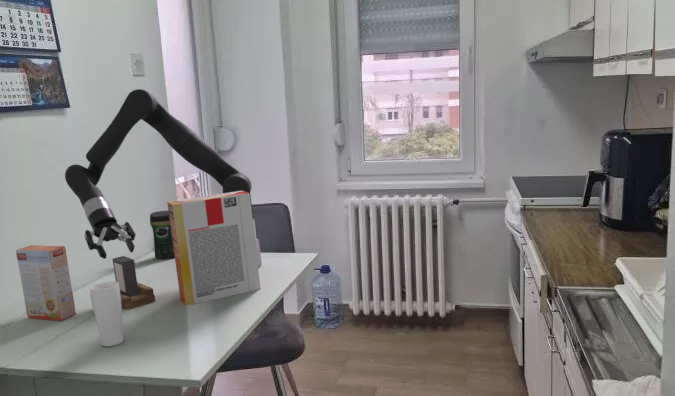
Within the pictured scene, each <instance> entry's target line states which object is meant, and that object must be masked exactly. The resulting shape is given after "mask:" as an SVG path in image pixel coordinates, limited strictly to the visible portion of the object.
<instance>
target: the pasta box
mask: <svg viewBox="0 0 675 396" xmlns="http://www.w3.org/2000/svg"><path fill="white" fill-rule="evenodd" d="M250 194H251V192H250V193H248V192H245V191H236V192H229V193H223V192H222V193H217V194H210V195H203V196H196V197H190V198H188V197H187V198H184V199H183V198H182V199H175V200H169V201H167V202H166V203H167V211H169V218H170V226H171V233H172V241H173V248H174V255H175V257H174V263H175V270H176V274H177V276H176V277H177V283H178V290H179V298H180V301H182V303H183V304H184V305H185V306H190V305H196V304H199V303H204V302H207V301H208V302H209V301H213V300H217V299H222V298H227V297H231V296H235V295H239V294H244V293H248V292H253V291H257V290H261V280H260V273H259V267H258V262H257V253H256V244H255V235H254V226H253V217H252V209H253V207H252V208H251V203H252V198H251V199H250Z"/></svg>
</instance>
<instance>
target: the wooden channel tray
mask: <svg viewBox="0 0 675 396" xmlns="http://www.w3.org/2000/svg"><path fill="white" fill-rule="evenodd" d="M137 285H138V292H139V295H135V296H132V297H128V296H126V295H124V294H122V293H120V295H121V306H122V308H123V309H124V310H126V311H127V310H130V309H134V308H137V307H140V306H141V307H142V306H144V305H148V304H150V303H154V302H156V295H155V294H154V293H155V292H154V288H153V287H150V286H147V285H145V284H143V283H141V282H138V281H137Z"/></svg>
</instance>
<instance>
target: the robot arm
mask: <svg viewBox="0 0 675 396" xmlns="http://www.w3.org/2000/svg"><path fill="white" fill-rule="evenodd" d="M140 121H143V122H145V123H146V124H148V125H149V126H150V127H152V128H153V129H154V130H155V131H157V133H158V134H160V136H161V137H162V138H163V139H164V141H166V143H167V144H168V145H169V146H170V148H172V149H173V150H174V151H175V152H176V153H177V154H178V155H179V156H180V157H182V158H183V159H184V160H185V161H186V162H188V163H189V164H191V165H192V166H193V167H195V168H197V169H199V170H201V171H202V172H204V173H206V174H207V175H208V176H210V177H211V178H213V179H214V180H215V181H216V182H217V183H218V184H219V185H220V186H221V187H222V193H229V192H236V191H245V192H248V193H250V199H251V200H252V196H251V191H252V182H251V180H250V178H249V177H248V176H247V175H245V173H243V172H241V171H240V170H238V169H237V168H236V167H234V166H232V164H230V163H229V162H228V161H226V160H225V159H224V158H223V157H222V156H221V155H220V154H219V153H218V152H217V151H216V150H215V149H214V148H213V147H212V146H211V145H210V144H208V142H206V140H205V139H203V138H202V137H201V136H200V135H199V134H197V132H195V131H194V130H193V129H192V128H190V127H189V126H188V125H186V124H184V123H183V122H182V121H181V120H179V119H177V117H175V116H173V115H172V114H171V113H170V112H169V111H168V110H167V109H166V108H165V107H164V106H163V105H162V104H161V103H160V102H159V100H157V98H156V97H155V96H154V95H153V94H152V93H150V92H149V91H147V90H145V89H140V88H139V89H138V88H136V89H133V90H131V91H130V92H129V93H128V95H127V97H126V98H125V100H124V102H123V103H122V105H121V107H120V109H119V111H118V112H117V114H116V115H115V117H114V118H113V120H112V121H111V123H110V124H109V126H108V127H107V128H106V129H105V131H103V132H102V134H101V135H100V136H99V138H98V139H97V140H96V141H95V142H94V144H93V145H92V146H91V147H90V149H88V151H87V153H86V155H85V158H86V160H87V161H88V162H89V165H88V167H85V166H83V165H80V164H72V165H70V166H68V167H67V168H66V170H65V173H64V180H65V183H66V184H67V185H68V187H69V188H70V190H71V191H72V192H73V194H74V195H75V196H76V197H77V198H78V199H79V202H80V204H81V206H82V208H83V211H84V214H85V217H86V219H87V220H88V222H89V225H90V227H91V229H92V230H91V231H90V230H88V229H86V230H85V232H84V239H85V241H86V244H87V246H88V247H87V248H88V249H89V250H90V251H93V250H95V251H97V254H98V255H99V257H100V258H102V259H103V260H105V259H107V253H106V250H105V248H104V246H103V243H104V242H106V243H107V242H111V241H116V240H117V241H120V242H124V243H125V245H126V246H127V249H128V251H129V253H134V251H135V247H136V246H135V244H134V242H133V241H134V240H135V239H136V232H135V230H134V229H133V227H132V226H131V225H130V223H129V222H128V221H127V222H124V224H119V223H118V220H117V219H116V216H115V215H114V213H113V210H112V208H111V207H110V204H109V203H108V201H106V199H105V197H104V194H103V192H102V190H101V189H100V188H99V187H98V186H97V185H98V183H99V181H101V180H100V179H101V176H102V175H103V172H104V170H105V167H106V165H107V164H108V163H109V162H111V159H112V158H113V157H114V156H115V155H116V153H117V152H118V150H119V149H120V148H121V146H122V144H123V142H124V140H125V139H126V137H127V136H128V134H129V133H130V131H131V130H132V129H133V127H134V126H136V124H137V123H138V122H140ZM251 208H252V217H253V226H254V235H255V244H256V253H257V262H258V268H260V267H261V266H262V265H263V264H262V256H261V255H262V254H261V246H260V245H261V244H260V239H259V238H257V232H256V230H257V229H256V224H255V213H254V210H253V205H252V202H251ZM93 237H96V238H98V240H97V242H94V240H93Z"/></svg>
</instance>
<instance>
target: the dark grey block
mask: <svg viewBox="0 0 675 396" xmlns="http://www.w3.org/2000/svg"><path fill="white" fill-rule="evenodd" d="M112 265H113V270H114V271H113V272H114V278H115V282H117V283H118V284H119V289H120V293H122V294H124V295H126V296H128V297H132V296H135V295H139V292H138V285H137V282H138V280H137V273H136V272H137V271H136V265H135V259H133V258H130V257H128V256H124V255H122V256H119V257H114V258H113V257H112Z"/></svg>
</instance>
